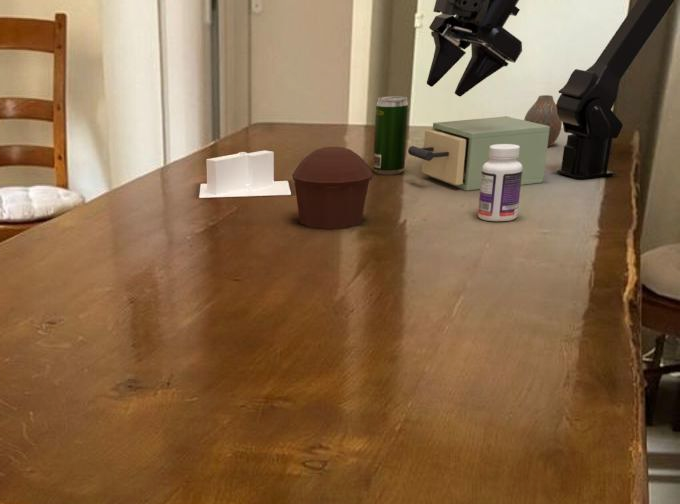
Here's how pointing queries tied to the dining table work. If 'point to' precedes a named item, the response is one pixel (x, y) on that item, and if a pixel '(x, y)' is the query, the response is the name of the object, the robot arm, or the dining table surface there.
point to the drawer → (443, 156)
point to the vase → (545, 116)
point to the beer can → (390, 135)
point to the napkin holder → (242, 176)
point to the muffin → (331, 188)
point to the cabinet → (500, 132)
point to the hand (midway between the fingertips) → (442, 90)
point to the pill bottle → (500, 184)
